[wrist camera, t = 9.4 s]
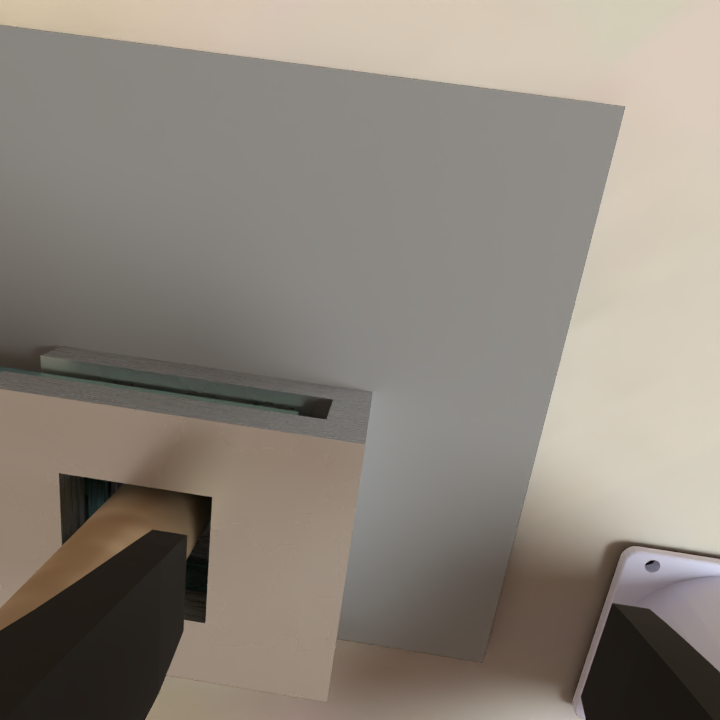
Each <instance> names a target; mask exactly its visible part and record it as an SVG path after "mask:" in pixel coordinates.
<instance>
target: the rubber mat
mask: <svg viewBox="0 0 720 720" xmlns="http://www.w3.org/2000/svg"><path fill="white" fill-rule="evenodd" d="M624 110H625V106H618V105H610V104H603V103H595V102H587V101H580V100H572V99H564V98H557V97H549V96H541V95H534V94H526V93H518V92H511V91H503V90H495V89H488V88H480V87H472V86H465V85H457V84H449V83H442V82H434V81H426V80H419V79H411V78H403V77H395V76H388V75H380V74H372V73H365V72H357V71H349V70H342V69H334V68H326V67H319V66H311V65H303V64H296V63H288V62H280V61H273V60H265V59H257V58H250V57H242V56H234V55H227V54H219V53H211V52H204V51H196V50H188V49H181V48H173V47H165V46H158V45H150V44H142V43H135V42H127V41H119V40H112V39H104V38H96V37H88V36H81V35H73V34H65V33H58V32H50V31H42V30H35V29H27V28H19V27H12V26H4V25H0V367H6V368H13V369H19V370H26V371H33V372H39V373H41V358H40V355H43V354H45V353H47V352H50V351H52V350H54V349H57V348H59V347H61V346H68V347H75V348H82V349H89V350H95V351H102V352H109V353H115V354H122V355H129V356H135V357H142V358H149V359H156V360H162V361H169V362H176V363H182V364H189V365H196V366H202V367H209V368H216V369H223V370H229V371H236V372H243V373H249V374H256V375H263V376H269V377H276V378H283V379H290V380H296V381H303V382H310V383H316V384H323V385H330V386H336V387H343V388H350V389H357V390H363V391H370V392H373V394H372V401H371V408H370V415H369V422H368V429H367V436H366V443H365V450H364V457H363V464H362V470H361V477H360V484H359V491H358V497H357V504H356V511H355V518H354V524H353V531H352V538H351V545H350V551H349V558H348V565H347V572H346V578H345V585H344V592H343V599H342V605H341V612H340V619H339V626H338V632H337V639H340V640H346V641H352V642H358V643H364V644H370V645H377V646H383V647H389V648H395V649H401V650H407V651H413V652H419V653H425V654H431V655H437V656H444V657H450V658H456V659H462V660H468V661H474V662H480V663H483V659H484V655H485V652H486V648H487V644H488V640H489V636H490V632H491V628H492V624H493V620H494V616H495V613H496V609H497V605H498V601H499V597H500V593H501V589H502V585H503V581H504V577H505V574H506V570H507V566H508V562H509V558H510V554H511V550H512V546H513V542H514V538H515V535H516V531H517V527H518V523H519V519H520V515H521V511H522V507H523V503H524V499H525V496H526V492H527V488H528V484H529V480H530V476H531V472H532V468H533V464H534V461H535V457H536V453H537V449H538V445H539V441H540V437H541V433H542V429H543V425H544V422H545V418H546V414H547V410H548V406H549V402H550V398H551V394H552V390H553V386H554V383H555V379H556V375H557V371H558V367H559V363H560V359H561V355H562V351H563V347H564V344H565V340H566V336H567V332H568V328H569V324H570V320H571V316H572V312H573V309H574V305H575V301H576V297H577V293H578V289H579V285H580V281H581V277H582V273H583V270H584V266H585V262H586V258H587V254H588V250H589V246H590V242H591V238H592V234H593V231H594V227H595V223H596V219H597V215H598V211H599V207H600V203H601V199H602V195H603V192H604V188H605V184H606V180H607V176H608V172H609V168H610V164H611V160H612V157H613V153H614V149H615V145H616V141H617V137H618V133H619V129H620V125H621V121H622V118H623V114H624ZM210 529H211V520H210V522H209V523H208V525H207V527H206V528H205V530H204V532H203V533H202V535H204V536H210Z"/></svg>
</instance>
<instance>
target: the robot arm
mask: <svg viewBox="0 0 720 720" xmlns="http://www.w3.org/2000/svg"><path fill="white" fill-rule="evenodd" d="M186 556H187V535H184V534H177V533H171V532H165V531H159V530H151V531H150V532H148V533H147V534H145V535H144V536H142V537H141V538H139V539H138V540H136V541H135V542H133V543H132V544H130V545H129V546H127V547H126V548H124V549H123V550H122V551H120V552H119V553H117V554H116V555H114V556H113V557H111V558H110V559H108V560H107V561H106V562H104V563H103V564H101V565H100V566H98V567H97V568H95V569H94V570H92V571H91V572H90V573H88V574H87V575H85V576H84V577H82V578H81V579H79V580H78V581H76V582H75V583H73V584H72V585H70V586H69V587H67V588H66V589H64V590H63V591H61V592H60V593H58V594H57V595H55V596H54V597H52V598H51V599H49V600H48V601H46V602H45V603H43V604H42V605H40V606H39V607H37V608H36V609H34V610H33V611H31V612H29V613H28V614H26V615H25V616H23V617H21V618H20V619H18V620H16V621H15V622H13V623H12V624H10V625H8V626H7V627H5V628H3V629H2V630H0V720H145V718H146V716H147V715H148V713H149V711H150V709H151V707H152V705H153V703H154V701H155V699H156V697H157V695H158V693H159V691H160V689H161V686H162V684H163V681H164V679H165V676H166V674H167V672H168V669H169V667H170V664H171V662H172V659H173V657H174V654H175V652H176V649H177V647H178V644H179V641H180V639H181V636H182V634H183V631H184V607H185V582H186ZM650 560H655V561H654V562H653V563H652V564H650V565H645V564H646V563H647V562H648V561H650ZM572 705H573V708H574V711H575V713H576V715H577V716H579V717H580V718H583V719H586V720H720V559H717V558H710V557H704V556H697V555H691V554H685V553H678V552H672V551H665V550H659V549H652V548H646V547H640V546H632V547H629V548H627V549H626V550H624V551H623V552H622V554H621V556H620V559H619V562H618V565H617V568H616V571H615V574H614V577H613V580H612V583H611V586H610V589H609V592H608V595H607V598H606V601H605V604H604V607H603V610H602V613H601V616H600V619H599V622H598V625H597V628H596V631H595V634H594V637H593V640H592V643H591V646H590V649H589V652H588V655H587V658H586V661H585V665H584V668H583V671H582V674H581V677H580V680H579V683H578V686H577V689H576V692H575V695H574V698H573V701H572Z"/></svg>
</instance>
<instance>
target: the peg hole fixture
mask: <svg viewBox="0 0 720 720" xmlns="http://www.w3.org/2000/svg"><path fill="white" fill-rule="evenodd" d="M40 358H41V373H39V372H33V371H26V370H19V369H13V368H6V367H0V608H1V607H2V606H3V605H4V604H5V603H6V602H7V601H8V600H9V599H10V598H11V597H12V596H13V595H14V594H15V593H16V592H17V591H18V590H19V589H20V588H21V587H22V586H23V585H24V584H25V583H26V582H27V581H28V580H29V579H30V578H31V577H32V576H33V575H34V574H35V573H36V572H37V571H38V570H39V569H40V568H41V567H42V565H43V564H44V563H45V562H46V561H47V560H48V559H49V558H50V557H51V556H52V555H53V554H54V553H55V552H56V551H57V550H58V549H59V548H60V547H61V546H62V545H63V544H64V543H65V542H66V541H67V540H68V539H69V538H70V537H71V536H72V535H73V534H74V533H75V532H76V531H77V530H78V529H79V528H80V527H81V526H82V525H83V524H84V523H85V522H86V521H87V520H88V519H89V518H90V517H91V516H92V515H93V514H94V513H95V512H96V511H97V510H98V509H99V508H100V507H101V506H102V505H103V504H104V503H105V502H106V501H107V500H108V499H109V498H110V497H111V496H112V495H113V494H114V493H115V492H116V491H117V490H118V489H119V488H120V487H121V486H122V485H123V484H124V483H125V484H132V485H138V486H145V487H151V488H157V489H164V490H170V491H176V492H183V493H189V494H195V495H202V496H208V497H212V510H211V529H210V536H204V535H201V537H200V538H199V540H198V542H197V543H196V545H195V547H194V548H193V550H192V552H191V553H190V555H189V557H188V558H187V560H186V582H185V607H184V631H183V634H182V636H181V639H180V641H179V644H178V647H177V649H176V652H175V654H174V657H173V659H172V662H171V664H170V667H169V669H168V672H167V674H166V675H167V676H173V677H179V678H185V679H191V680H197V681H203V682H209V683H215V684H220V685H226V686H232V687H238V688H244V689H250V690H256V691H262V692H268V693H274V694H280V695H286V696H292V697H298V698H304V699H310V700H316V701H322V702H327V700H328V693H329V686H330V680H331V673H332V666H333V659H334V653H335V646H336V639H337V632H338V626H339V619H340V612H341V605H342V599H343V592H344V585H345V578H346V572H347V565H348V558H349V551H350V545H351V538H352V531H353V524H354V518H355V511H356V504H357V497H358V491H359V484H360V477H361V470H362V464H363V457H364V450H365V443H366V436H367V429H368V422H369V415H370V408H371V401H372V394H373V392H370V391H363V390H357V389H350V388H343V387H336V386H330V385H323V384H316V383H310V382H303V381H296V380H290V379H283V378H276V377H269V376H263V375H256V374H249V373H243V372H236V371H229V370H223V369H216V368H209V367H202V366H196V365H189V364H182V363H176V362H169V361H162V360H156V359H149V358H142V357H135V356H129V355H122V354H115V353H109V352H102V351H95V350H89V349H82V348H75V347H68V346H61V347H59V348H57V349H54V350H52V351H50V352H47V353H45V354H43V355H40Z"/></svg>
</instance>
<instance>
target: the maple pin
mask: <svg viewBox="0 0 720 720" xmlns="http://www.w3.org/2000/svg"><path fill="white" fill-rule="evenodd" d="M211 510H212V497H208V496H202V495H195V494H189V493H183V492H176V491H170V490H164V489H157V488H151V487H145V486H138V485H132V484H125V483H124V484H123V485H122V486H121V487H120V488H119V489H118V490H117V491H116V492H115V493H114V494H113V495H112V496H111V497H110V498H109V499H108V500H107V501H106V502H105V503H104V504H103V505H102V506H101V507H100V508H99V509H98V510H97V511H96V512H95V513H94V514H93V515H92V516H91V517H90V518H89V519H88V520H87V521H86V522H85V523H84V524H83V525H82V526H81V527H80V528H79V529H78V530H77V531H76V532H75V533H74V534H73V535H72V536H71V537H70V538H69V539H68V540H67V541H66V542H65V543H64V544H63V545H62V546H61V547H60V548H59V549H58V550H57V551H56V552H55V553H54V554H53V555H52V556H51V557H50V558H49V559H48V560H47V561H46V562H45V563H44V564H43V565H42V567H41V568H40V569H39V570H38V571H37V572H36V573H35V574H34V575H33V576H32V577H31V578H30V579H29V580H28V581H27V582H26V583H25V584H24V585H23V586H22V587H21V588H20V589H19V590H18V591H17V592H16V593H15V594H14V595H13V596H12V597H11V598H10V599H9V600H8V601H7V602H6V603H5V604H4V605H3V606H2V607H1V608H0V630H2V629H3V628H5V627H7V626H8V625H10V624H12V623H13V622H15V621H16V620H18V619H20V618H21V617H23V616H25V615H26V614H28V613H29V612H31V611H33V610H34V609H36V608H37V607H39V606H40V605H42V604H43V603H45V602H46V601H48V600H49V599H51V598H52V597H54V596H55V595H57V594H58V593H60V592H61V591H63V590H64V589H66V588H67V587H69V586H70V585H72V584H73V583H75V582H76V581H78V580H79V579H81V578H82V577H84V576H85V575H87V574H88V573H90V572H91V571H92V570H94V569H95V568H97V567H98V566H100V565H101V564H103V563H104V562H106V561H107V560H108V559H110V558H111V557H113V556H114V555H116V554H117V553H119V552H120V551H122V550H123V549H124V548H126V547H127V546H129V545H130V544H132V543H133V542H135V541H136V540H138V539H139V538H141V537H142V536H144V535H145V534H147V533H148V532H150V531H151V530H159V531H165V532H171V533H177V534H184V535H187V556H186V560H187V558H188V557H189V555H190V553H191V552H192V550H193V548H194V547H195V545H196V543H197V542H198V540H199V538H200V537H201V535H202V533H203V532H204V530H205V528H206V527H207V525H208V523H209V522H210V520H211Z"/></svg>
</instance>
